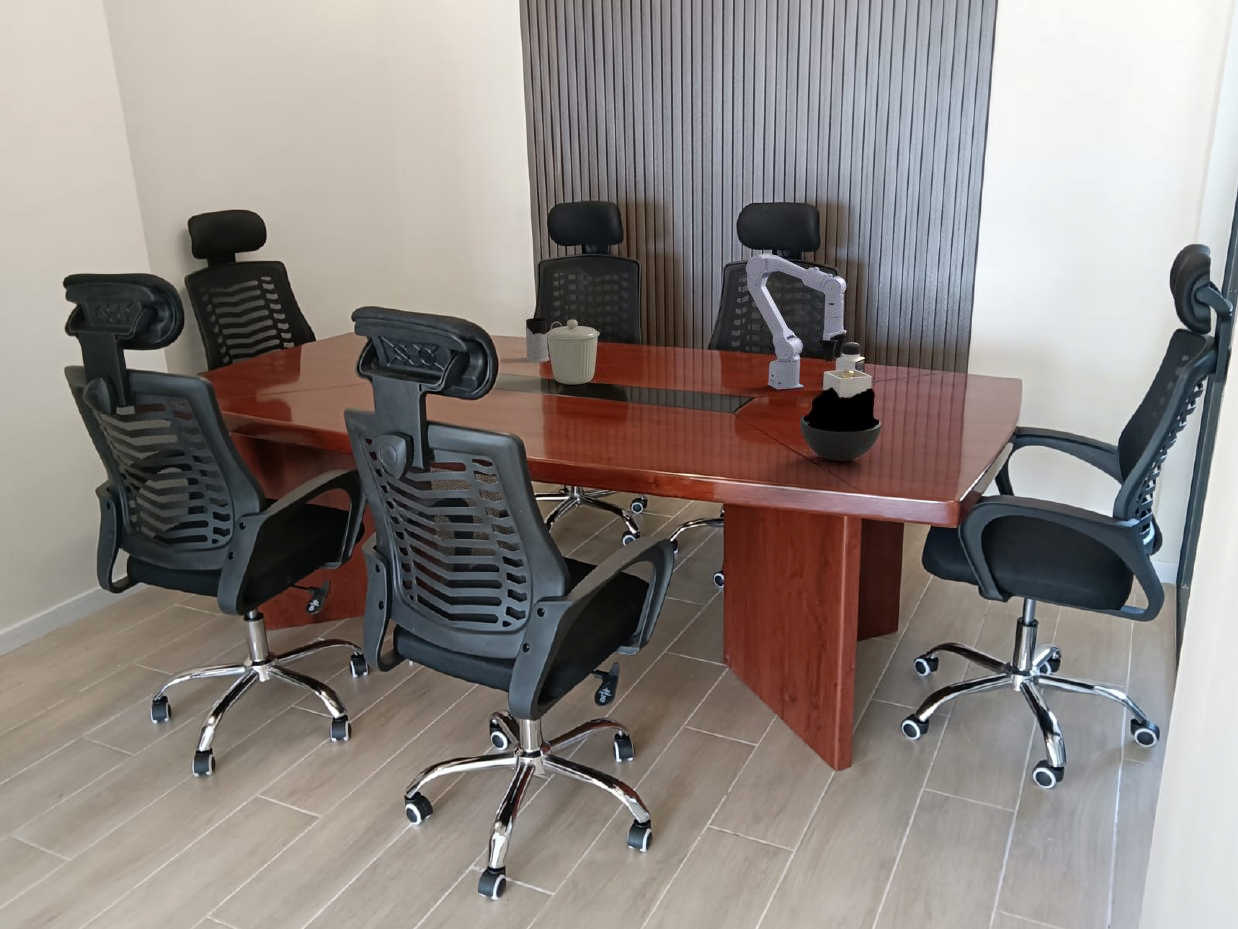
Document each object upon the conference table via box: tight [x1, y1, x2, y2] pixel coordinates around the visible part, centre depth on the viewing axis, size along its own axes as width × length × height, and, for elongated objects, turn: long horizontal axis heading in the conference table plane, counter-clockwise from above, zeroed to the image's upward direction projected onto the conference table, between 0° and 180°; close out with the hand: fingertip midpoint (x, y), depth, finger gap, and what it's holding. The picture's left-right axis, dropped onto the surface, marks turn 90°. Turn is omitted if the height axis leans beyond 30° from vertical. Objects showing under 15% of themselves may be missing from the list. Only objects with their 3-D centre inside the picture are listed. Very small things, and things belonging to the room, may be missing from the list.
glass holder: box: [525, 317, 563, 363], centre depth 374 cm, size 9×14×15 cm, turn 107°
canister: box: [545, 319, 601, 385], centre depth 338 cm, size 18×18×21 cm
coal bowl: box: [799, 387, 882, 462], centre depth 252 cm, size 20×20×19 cm
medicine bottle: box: [835, 342, 866, 373], centre depth 337 cm, size 7×7×12 cm
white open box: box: [822, 369, 873, 398], centre depth 320 cm, size 11×11×6 cm
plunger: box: [842, 370, 854, 378], centre depth 320 cm, size 9×9×5 cm
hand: (832, 358), depth 320 cm, fingers open, 7 cm apart
